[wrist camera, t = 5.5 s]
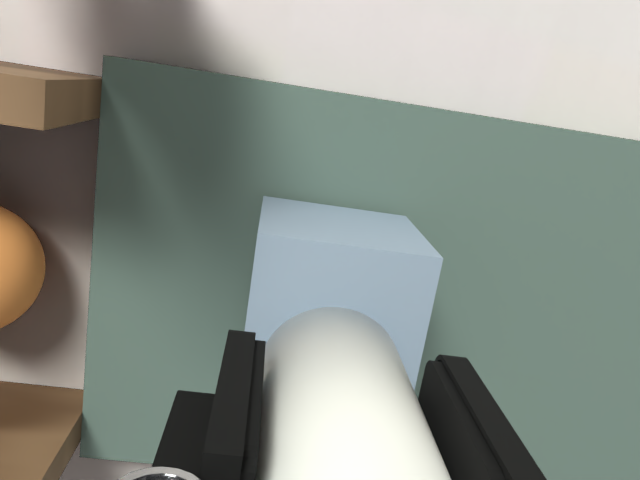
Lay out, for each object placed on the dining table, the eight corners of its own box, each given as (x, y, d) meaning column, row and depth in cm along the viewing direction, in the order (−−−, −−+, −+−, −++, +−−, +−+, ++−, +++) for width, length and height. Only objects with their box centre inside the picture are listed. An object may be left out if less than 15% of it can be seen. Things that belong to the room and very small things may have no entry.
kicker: (405, 216, 16) (627, 465, 6) (368, 405, 18) (490, 873, 7) (263, 196, 16) (226, 423, 6) (237, 391, 18) (170, 863, 7)
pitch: (758, 160, 18) (790, 165, 17) (644, 488, 21) (665, 512, 20) (116, 56, 16) (103, 55, 15) (91, 434, 19) (79, 457, 18)
